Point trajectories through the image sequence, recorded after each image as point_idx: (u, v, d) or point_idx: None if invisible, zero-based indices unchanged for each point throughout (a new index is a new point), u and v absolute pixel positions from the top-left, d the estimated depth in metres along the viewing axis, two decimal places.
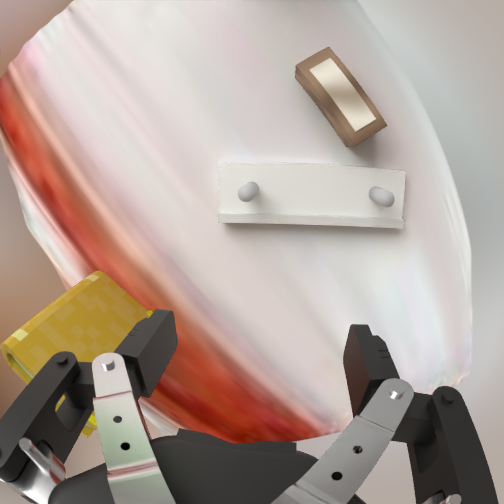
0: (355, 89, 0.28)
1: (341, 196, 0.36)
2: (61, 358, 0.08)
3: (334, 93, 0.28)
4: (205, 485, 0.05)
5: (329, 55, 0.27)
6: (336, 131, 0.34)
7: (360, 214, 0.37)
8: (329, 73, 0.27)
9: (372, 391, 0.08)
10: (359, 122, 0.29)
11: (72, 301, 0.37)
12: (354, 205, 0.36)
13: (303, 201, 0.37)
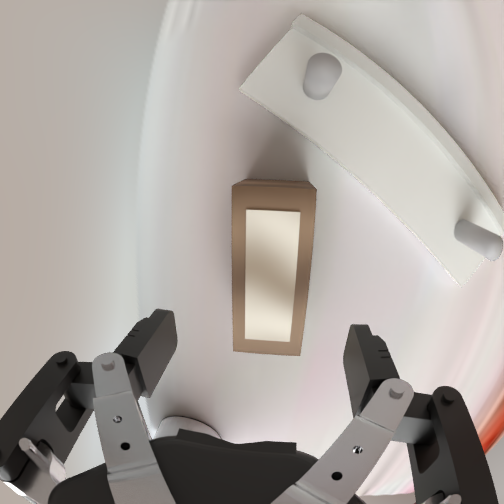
0: (245, 276, 0.18)
1: (373, 123, 0.18)
2: (61, 358, 0.08)
3: (285, 290, 0.18)
4: (205, 485, 0.05)
5: (243, 341, 0.20)
6: None
7: (360, 77, 0.17)
8: (265, 320, 0.19)
9: (372, 391, 0.08)
10: (282, 222, 0.17)
11: None
12: (361, 95, 0.17)
13: (426, 160, 0.18)
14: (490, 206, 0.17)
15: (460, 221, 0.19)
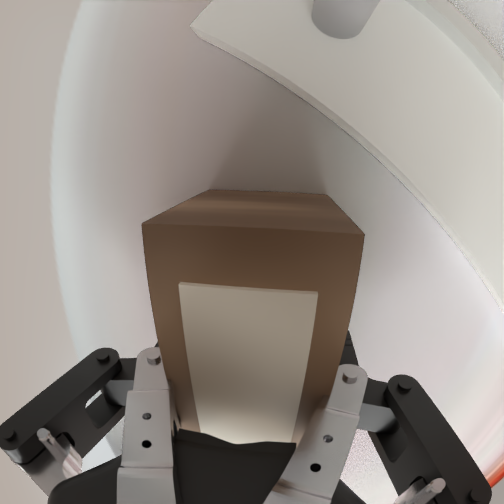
0: (195, 403, 0.08)
1: (442, 89, 0.08)
2: (102, 355, 0.08)
3: (275, 424, 0.08)
4: (205, 485, 0.05)
5: None
6: None
7: (413, 11, 0.07)
8: None
9: None
10: (271, 317, 0.06)
11: None
12: (419, 40, 0.07)
13: None
14: None
15: None
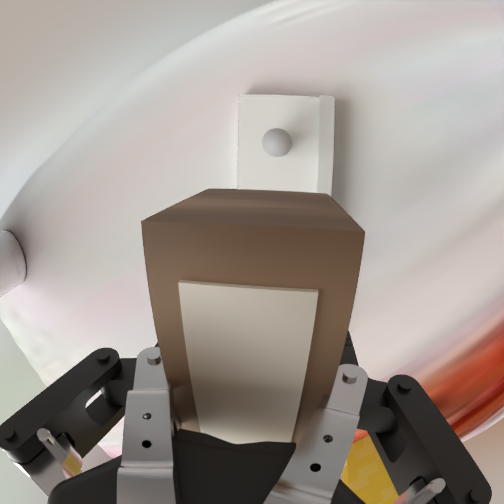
0: (195, 402, 0.08)
1: None
2: (102, 356, 0.08)
3: (275, 424, 0.08)
4: (205, 485, 0.05)
5: None
6: None
7: (313, 170, 0.23)
8: None
9: None
10: (271, 315, 0.06)
11: None
12: (299, 180, 0.23)
13: None
14: None
15: None
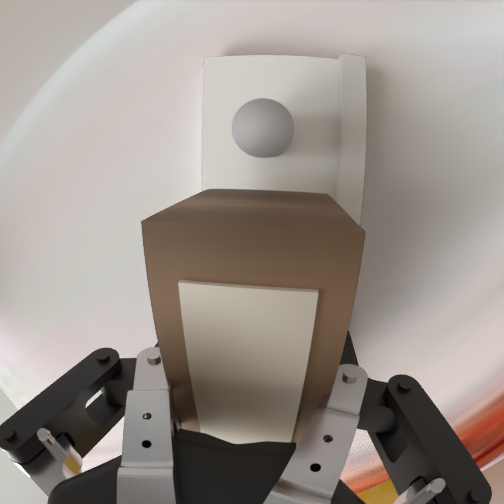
0: (195, 402, 0.08)
1: None
2: (102, 355, 0.08)
3: (275, 424, 0.08)
4: (205, 485, 0.05)
5: None
6: None
7: (330, 180, 0.13)
8: None
9: None
10: (271, 315, 0.06)
11: None
12: None
13: None
14: None
15: None
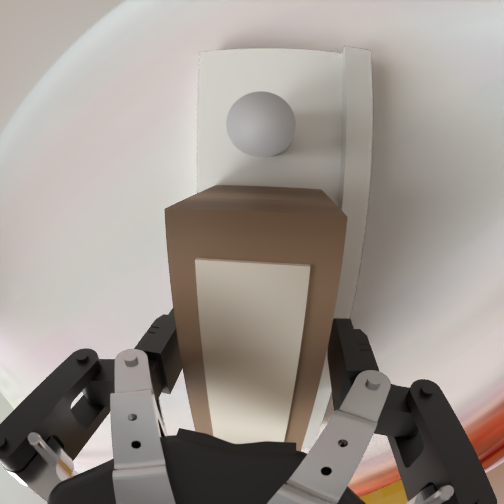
0: (205, 371, 0.09)
1: None
2: (82, 356, 0.08)
3: (276, 392, 0.10)
4: (205, 485, 0.05)
5: None
6: None
7: (334, 181, 0.13)
8: (244, 424, 0.10)
9: (350, 382, 0.08)
10: (271, 286, 0.08)
11: None
12: None
13: None
14: None
15: None
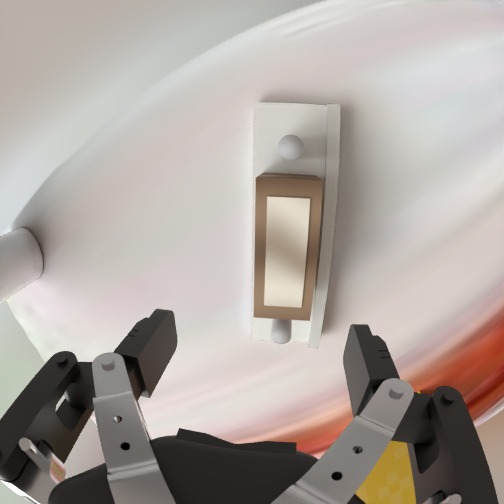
0: (265, 251, 0.22)
1: None
2: (61, 359, 0.08)
3: (298, 262, 0.23)
4: (206, 485, 0.05)
5: (262, 307, 0.24)
6: None
7: (321, 171, 0.26)
8: (281, 288, 0.24)
9: (372, 391, 0.08)
10: (296, 206, 0.21)
11: None
12: None
13: None
14: (314, 318, 0.30)
15: None
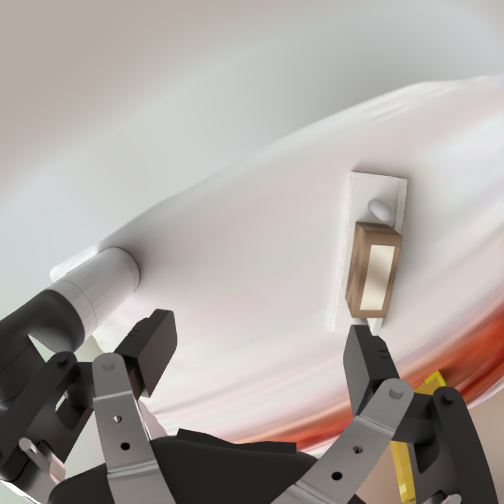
0: (366, 276, 0.34)
1: None
2: (61, 359, 0.08)
3: (383, 283, 0.34)
4: (205, 485, 0.05)
5: (358, 311, 0.36)
6: None
7: (391, 221, 0.37)
8: (371, 299, 0.35)
9: (372, 391, 0.08)
10: (386, 250, 0.33)
11: (398, 442, 0.42)
12: None
13: None
14: None
15: None
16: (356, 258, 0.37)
